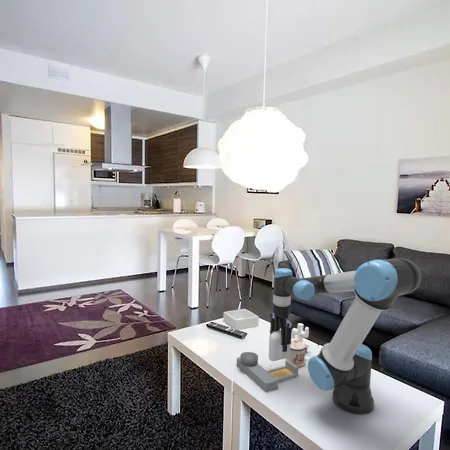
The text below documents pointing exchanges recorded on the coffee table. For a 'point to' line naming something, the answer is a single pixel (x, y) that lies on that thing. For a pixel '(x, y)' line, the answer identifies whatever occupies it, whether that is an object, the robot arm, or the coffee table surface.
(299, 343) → the teacup with lid
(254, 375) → the deck
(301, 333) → the figurine
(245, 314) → the box
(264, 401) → the coffee table surface
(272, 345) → the photo printer
